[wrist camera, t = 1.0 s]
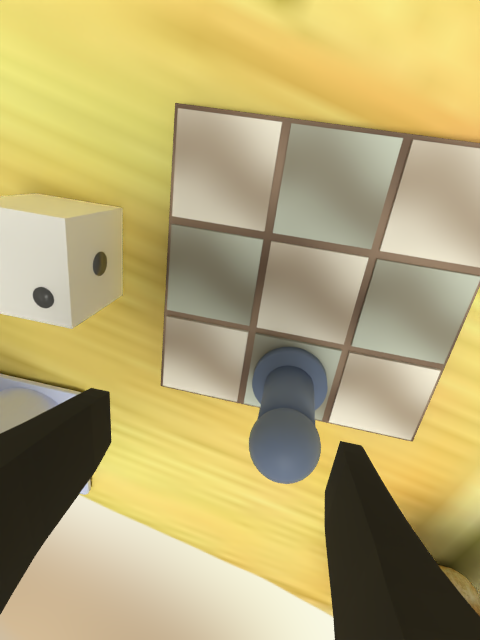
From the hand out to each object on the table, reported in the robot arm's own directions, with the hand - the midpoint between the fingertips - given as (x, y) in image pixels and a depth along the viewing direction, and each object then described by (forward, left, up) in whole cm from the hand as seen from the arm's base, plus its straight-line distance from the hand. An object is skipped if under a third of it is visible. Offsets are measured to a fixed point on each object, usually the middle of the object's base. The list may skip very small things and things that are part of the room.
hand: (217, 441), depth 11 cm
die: (+2, +11, -10) cm, 15 cm away
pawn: (-3, -2, -9) cm, 9 cm away
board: (+2, -2, -10) cm, 10 cm away
